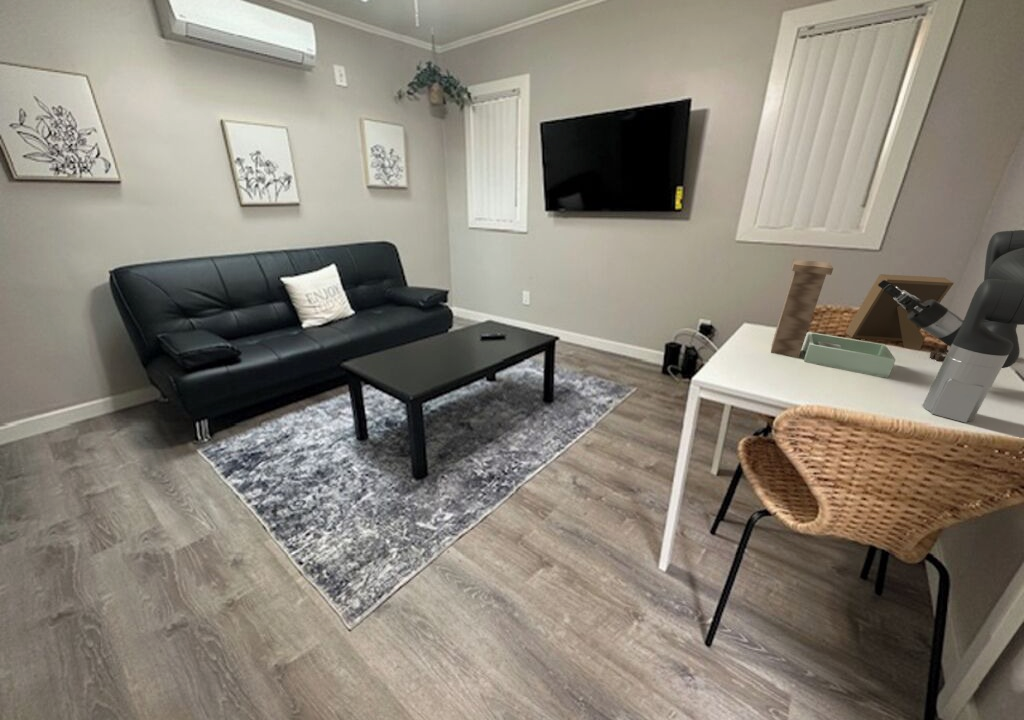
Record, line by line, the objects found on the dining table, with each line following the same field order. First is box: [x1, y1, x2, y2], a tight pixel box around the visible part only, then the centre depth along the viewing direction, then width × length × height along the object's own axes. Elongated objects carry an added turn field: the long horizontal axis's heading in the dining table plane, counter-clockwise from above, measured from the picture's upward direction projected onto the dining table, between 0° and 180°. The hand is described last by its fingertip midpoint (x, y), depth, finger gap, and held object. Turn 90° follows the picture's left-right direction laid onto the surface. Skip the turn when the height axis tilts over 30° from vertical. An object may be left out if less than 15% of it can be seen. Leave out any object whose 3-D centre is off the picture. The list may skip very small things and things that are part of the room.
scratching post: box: [770, 258, 834, 359], centre depth 134 cm, size 10×14×30 cm
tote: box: [802, 331, 896, 379], centre depth 131 cm, size 21×16×6 cm
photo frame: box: [845, 273, 955, 351], centre depth 148 cm, size 15×22×25 cm
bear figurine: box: [929, 347, 949, 362], centre depth 136 cm, size 18×4×14 cm
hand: (883, 284), depth 121 cm, fingers open, 8 cm apart
